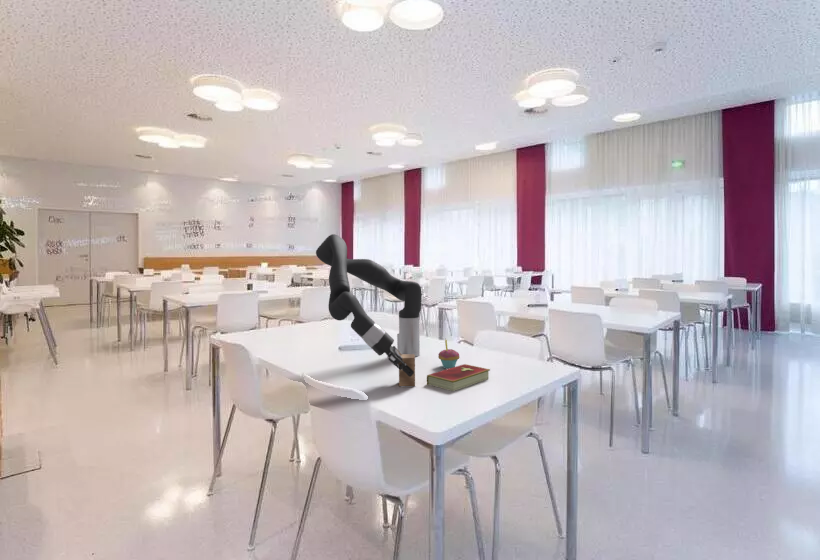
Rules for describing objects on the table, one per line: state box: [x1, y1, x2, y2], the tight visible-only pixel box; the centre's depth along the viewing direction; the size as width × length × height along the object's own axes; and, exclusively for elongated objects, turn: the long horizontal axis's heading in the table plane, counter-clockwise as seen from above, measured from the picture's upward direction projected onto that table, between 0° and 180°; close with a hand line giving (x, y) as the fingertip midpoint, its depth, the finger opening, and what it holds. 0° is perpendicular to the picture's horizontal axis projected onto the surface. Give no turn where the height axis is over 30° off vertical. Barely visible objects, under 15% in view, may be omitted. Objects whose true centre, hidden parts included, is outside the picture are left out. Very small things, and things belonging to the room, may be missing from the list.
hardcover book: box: [426, 363, 491, 392], centre depth 162 cm, size 12×21×4 cm, turn 135°
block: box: [398, 354, 416, 387], centre depth 159 cm, size 6×6×10 cm
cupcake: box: [437, 338, 460, 369], centre depth 183 cm, size 9×8×12 cm
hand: (411, 372), depth 159 cm, fingers closed on block, 5 cm apart
